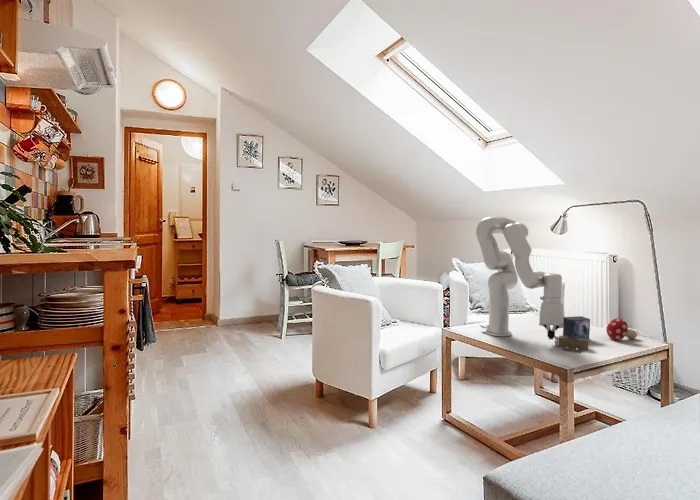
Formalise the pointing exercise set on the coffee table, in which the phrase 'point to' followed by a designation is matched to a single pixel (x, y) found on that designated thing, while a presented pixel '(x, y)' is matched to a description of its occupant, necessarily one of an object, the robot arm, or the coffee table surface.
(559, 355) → the coffee table surface
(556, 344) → the hinge pin
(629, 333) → the decorative mushroom
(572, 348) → the hinge
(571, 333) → the small box
